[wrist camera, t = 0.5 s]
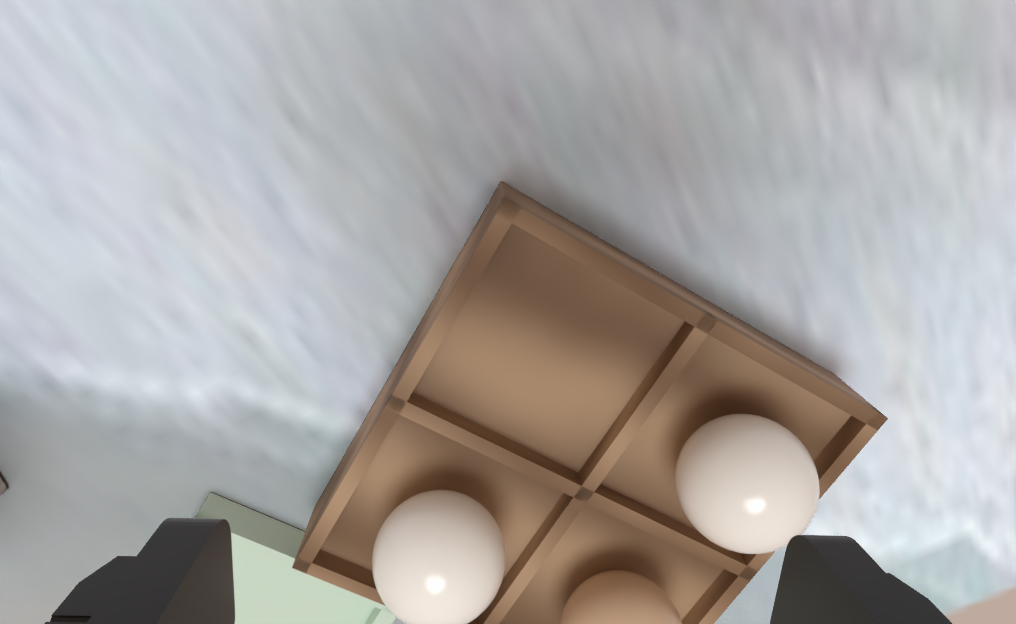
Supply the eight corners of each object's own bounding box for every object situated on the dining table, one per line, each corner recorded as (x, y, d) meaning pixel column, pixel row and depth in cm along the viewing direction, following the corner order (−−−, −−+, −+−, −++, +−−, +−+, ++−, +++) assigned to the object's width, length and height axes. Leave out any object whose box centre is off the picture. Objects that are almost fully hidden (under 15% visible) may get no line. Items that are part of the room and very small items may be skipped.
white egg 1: (416, 444, 26) (403, 526, 21) (525, 495, 27) (536, 584, 22) (360, 536, 27) (336, 633, 23) (466, 581, 28) (464, 682, 24)
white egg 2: (707, 369, 25) (760, 436, 21) (806, 424, 26) (878, 499, 22) (636, 467, 27) (670, 551, 22) (733, 515, 28) (785, 605, 23)
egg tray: (501, 181, 26) (505, 198, 22) (835, 375, 29) (888, 418, 25) (313, 508, 30) (291, 567, 27) (622, 640, 34) (641, 709, 30)
